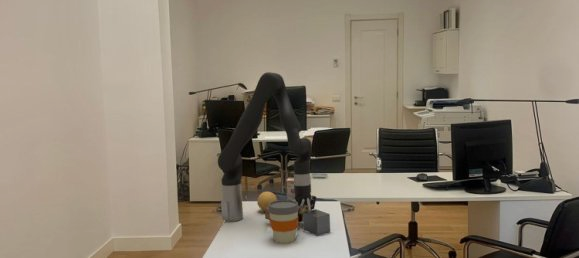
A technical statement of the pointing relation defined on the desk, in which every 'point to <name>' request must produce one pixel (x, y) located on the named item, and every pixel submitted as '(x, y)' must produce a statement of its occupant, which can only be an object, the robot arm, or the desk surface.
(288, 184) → the candy bar box
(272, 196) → the stress ball
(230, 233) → the desk surface
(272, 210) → the reusable coffee cup
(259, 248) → the desk surface
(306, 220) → the grey sleeve
